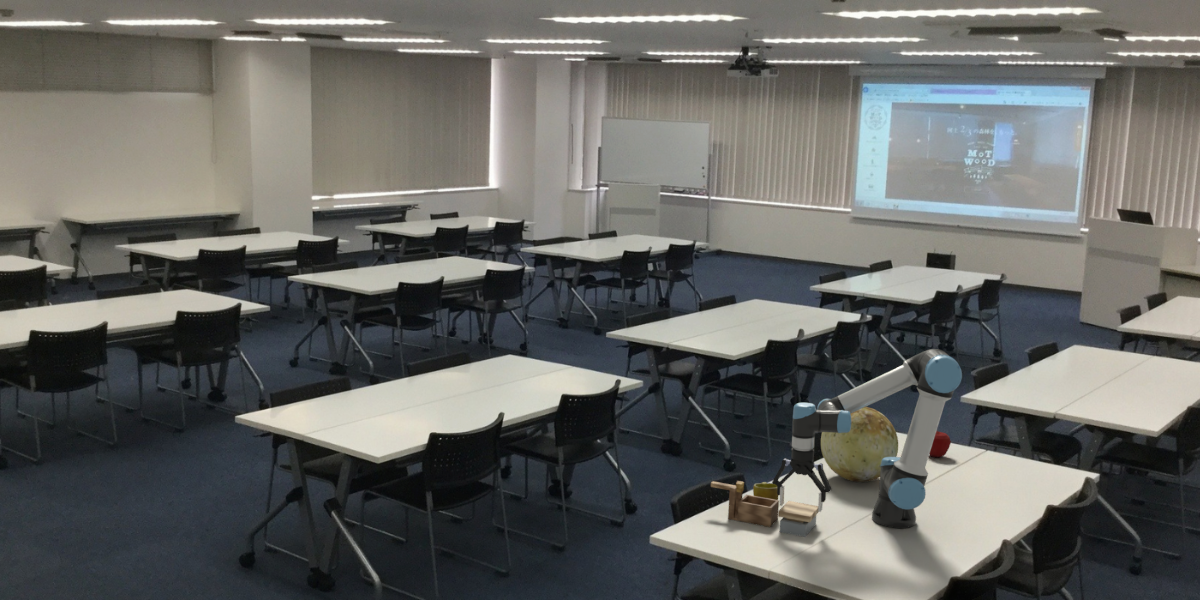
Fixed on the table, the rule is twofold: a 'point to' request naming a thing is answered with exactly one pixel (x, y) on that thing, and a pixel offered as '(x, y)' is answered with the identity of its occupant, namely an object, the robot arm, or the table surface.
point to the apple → (940, 444)
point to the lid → (798, 511)
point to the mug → (765, 490)
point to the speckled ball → (860, 446)
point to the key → (728, 486)
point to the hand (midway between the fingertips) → (800, 507)
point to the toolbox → (752, 508)
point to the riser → (796, 526)
